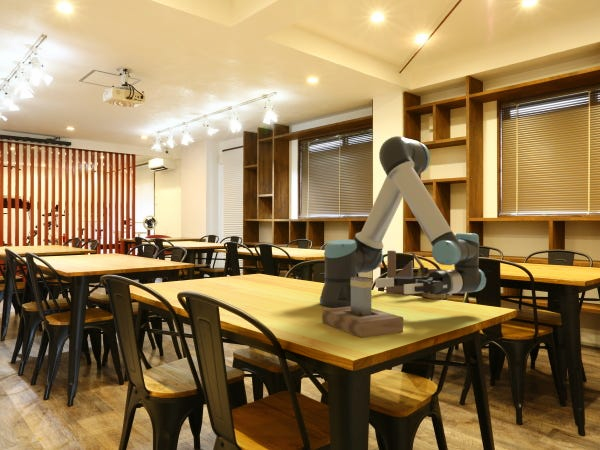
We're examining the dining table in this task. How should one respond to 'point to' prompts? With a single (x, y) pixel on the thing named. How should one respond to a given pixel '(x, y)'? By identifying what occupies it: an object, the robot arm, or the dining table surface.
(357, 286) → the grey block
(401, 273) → the wooden block
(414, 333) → the dining table surface
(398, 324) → the walnut post block
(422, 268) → the wooden mug
